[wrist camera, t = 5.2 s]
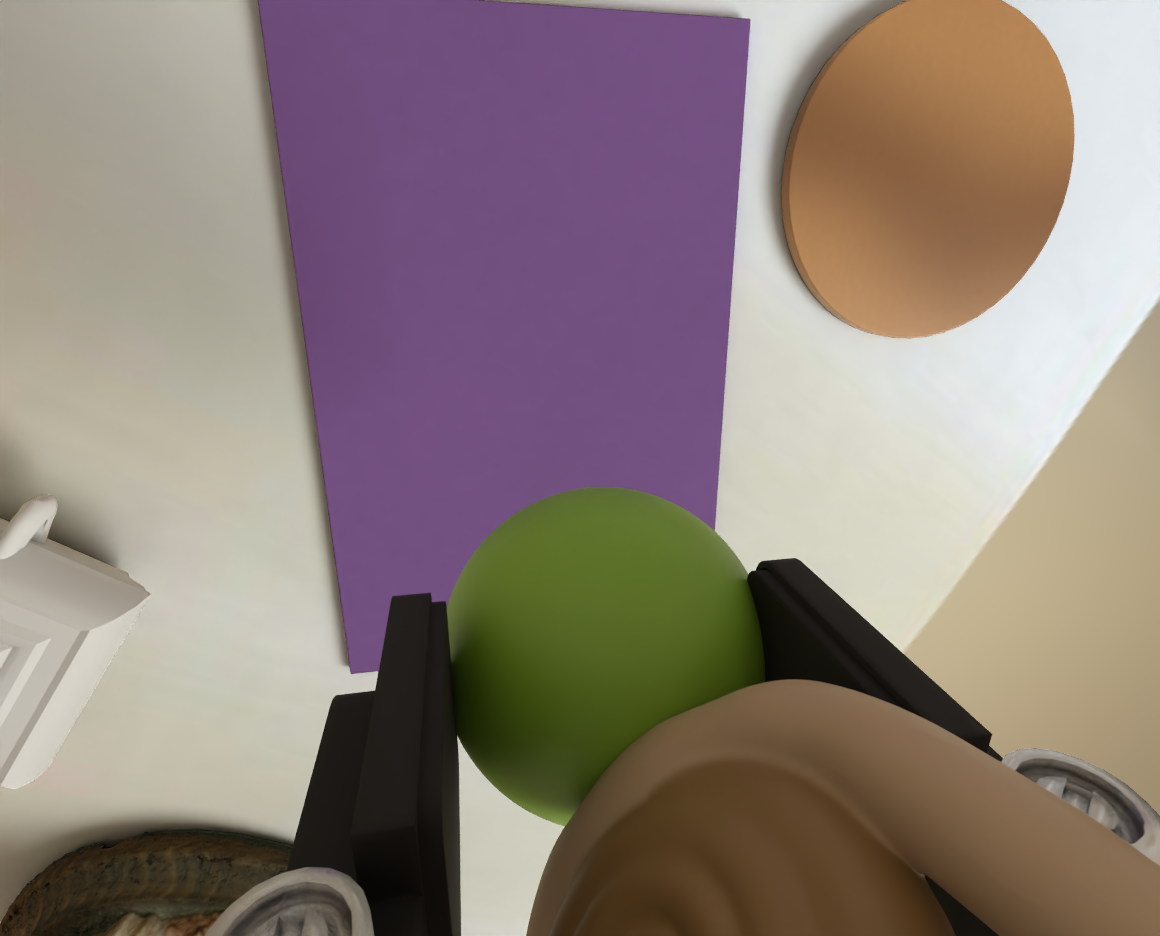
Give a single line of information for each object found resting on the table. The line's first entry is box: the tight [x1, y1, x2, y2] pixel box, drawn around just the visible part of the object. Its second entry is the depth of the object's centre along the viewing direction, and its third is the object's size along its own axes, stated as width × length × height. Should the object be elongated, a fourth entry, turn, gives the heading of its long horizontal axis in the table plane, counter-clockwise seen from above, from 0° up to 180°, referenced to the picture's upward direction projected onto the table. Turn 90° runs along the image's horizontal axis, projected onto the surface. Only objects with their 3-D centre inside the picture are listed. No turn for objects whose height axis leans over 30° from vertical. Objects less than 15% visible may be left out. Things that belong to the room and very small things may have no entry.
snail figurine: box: [447, 487, 1160, 936], centre depth 7 cm, size 5×6×12 cm
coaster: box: [781, 0, 1074, 338], centre depth 20 cm, size 10×10×1 cm
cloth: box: [258, 0, 750, 674], centre depth 20 cm, size 20×13×1 cm, turn 0°
